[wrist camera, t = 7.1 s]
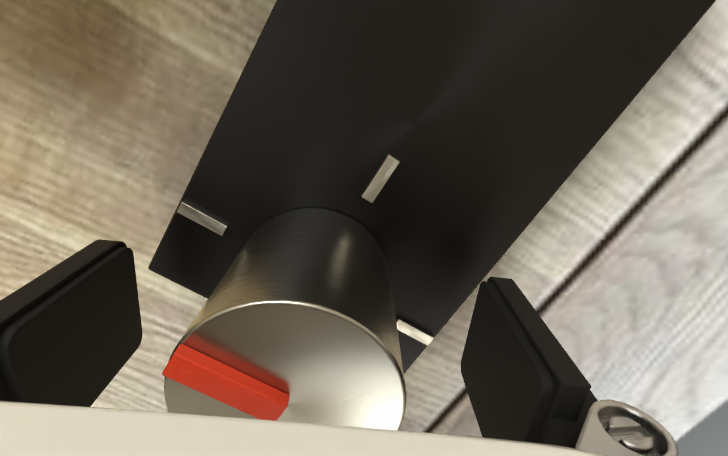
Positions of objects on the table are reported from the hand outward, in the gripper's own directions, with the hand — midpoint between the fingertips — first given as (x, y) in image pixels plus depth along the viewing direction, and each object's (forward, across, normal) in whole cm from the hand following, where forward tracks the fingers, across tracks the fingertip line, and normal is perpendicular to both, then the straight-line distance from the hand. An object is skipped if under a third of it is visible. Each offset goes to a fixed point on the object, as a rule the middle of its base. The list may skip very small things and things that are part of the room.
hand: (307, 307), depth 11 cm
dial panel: (+4, -2, -5) cm, 7 cm away
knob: (+2, 0, 0) cm, 2 cm away
